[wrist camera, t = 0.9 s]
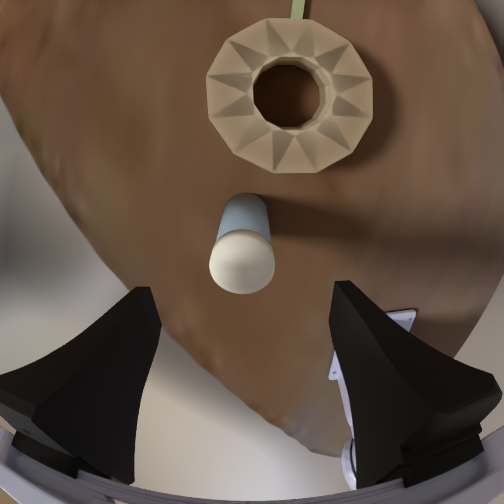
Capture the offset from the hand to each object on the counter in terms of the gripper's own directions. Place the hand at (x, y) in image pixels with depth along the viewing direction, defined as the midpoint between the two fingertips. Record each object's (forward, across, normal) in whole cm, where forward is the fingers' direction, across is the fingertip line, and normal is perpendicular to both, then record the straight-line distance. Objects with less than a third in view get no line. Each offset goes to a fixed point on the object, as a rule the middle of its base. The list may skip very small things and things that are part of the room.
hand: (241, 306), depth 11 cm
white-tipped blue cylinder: (+10, 0, 0) cm, 10 cm away
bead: (+10, -3, -8) cm, 13 cm away
